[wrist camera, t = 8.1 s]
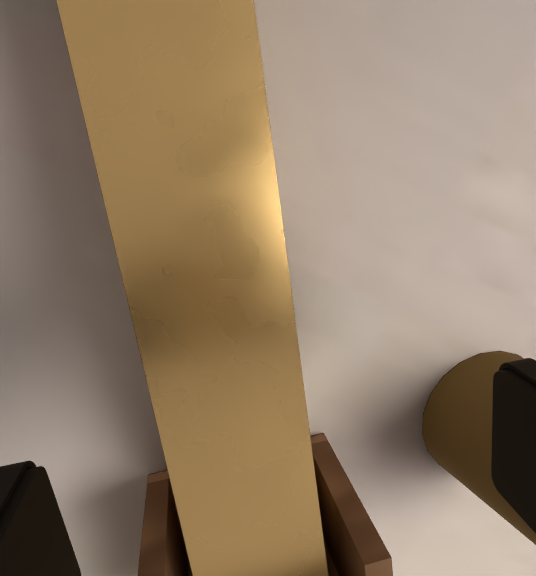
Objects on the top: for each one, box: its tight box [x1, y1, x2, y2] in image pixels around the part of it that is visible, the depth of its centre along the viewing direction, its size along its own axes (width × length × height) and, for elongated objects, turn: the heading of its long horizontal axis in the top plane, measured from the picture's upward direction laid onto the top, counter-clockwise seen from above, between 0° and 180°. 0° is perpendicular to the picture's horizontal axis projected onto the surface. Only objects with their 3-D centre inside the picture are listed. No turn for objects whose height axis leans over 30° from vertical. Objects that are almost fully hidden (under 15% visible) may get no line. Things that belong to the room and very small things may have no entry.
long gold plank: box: [56, 0, 328, 576], centre depth 13 cm, size 4×24×4 cm, turn 8°
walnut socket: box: [138, 433, 393, 576], centre depth 15 cm, size 7×5×7 cm
